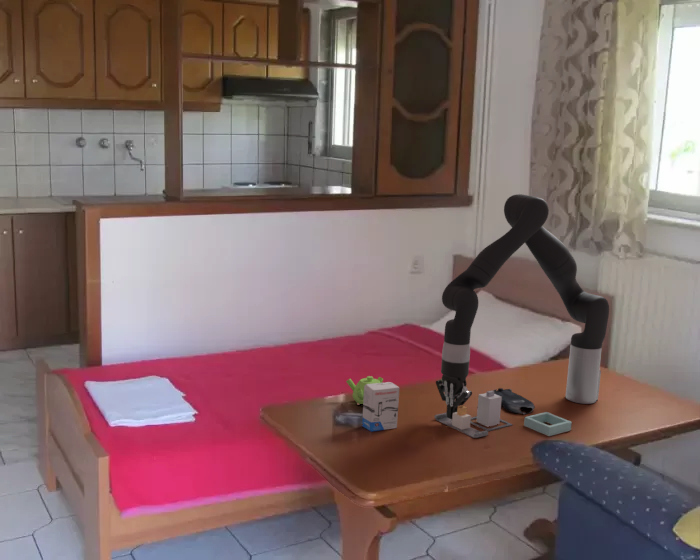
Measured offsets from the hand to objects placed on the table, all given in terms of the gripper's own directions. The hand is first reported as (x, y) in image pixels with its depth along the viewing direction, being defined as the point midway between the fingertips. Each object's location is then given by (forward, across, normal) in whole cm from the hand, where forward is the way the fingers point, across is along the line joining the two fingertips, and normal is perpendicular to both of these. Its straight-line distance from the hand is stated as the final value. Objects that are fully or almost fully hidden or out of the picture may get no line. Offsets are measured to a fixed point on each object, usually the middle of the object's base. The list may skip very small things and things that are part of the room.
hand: (451, 417), depth 225 cm
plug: (+2, -5, -9) cm, 11 cm away
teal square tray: (+2, -16, -22) cm, 27 cm away
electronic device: (+2, +2, -27) cm, 27 cm away
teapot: (+2, +24, +12) cm, 27 cm away
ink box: (+2, +7, +20) cm, 21 cm away
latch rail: (+2, -4, 0) cm, 4 cm away
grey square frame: (+2, -5, -9) cm, 11 cm away
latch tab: (+1, -4, 0) cm, 4 cm away
